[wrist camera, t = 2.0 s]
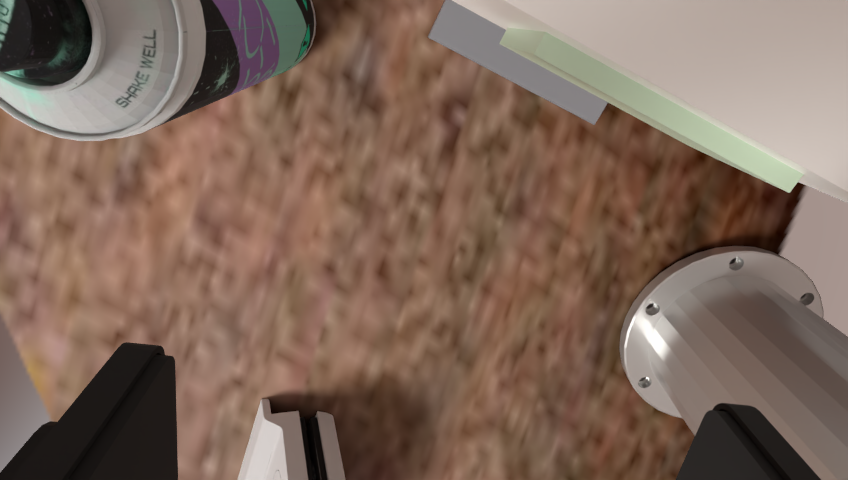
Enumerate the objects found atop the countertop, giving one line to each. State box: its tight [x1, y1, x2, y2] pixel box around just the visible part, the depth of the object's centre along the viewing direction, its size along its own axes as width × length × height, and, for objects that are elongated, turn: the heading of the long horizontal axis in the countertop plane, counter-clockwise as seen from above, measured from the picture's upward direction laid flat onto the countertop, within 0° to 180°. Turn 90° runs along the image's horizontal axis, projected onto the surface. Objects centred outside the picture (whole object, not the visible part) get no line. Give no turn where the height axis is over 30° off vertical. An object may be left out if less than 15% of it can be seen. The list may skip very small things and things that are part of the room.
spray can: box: [0, 0, 316, 141], centre depth 19 cm, size 6×6×20 cm
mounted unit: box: [428, 0, 848, 203], centre depth 19 cm, size 12×8×20 cm, turn 64°
